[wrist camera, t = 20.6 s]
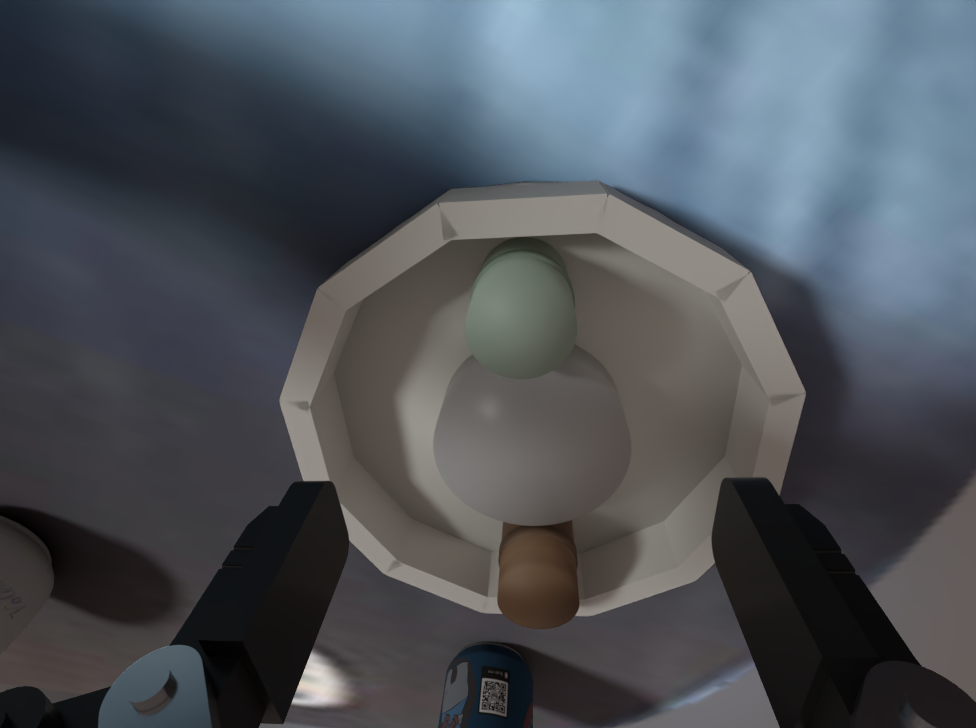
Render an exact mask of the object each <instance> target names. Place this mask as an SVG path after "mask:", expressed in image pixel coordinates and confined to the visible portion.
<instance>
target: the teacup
mask: <svg viewBox="0 0 976 728" xmlns="http://www.w3.org/2000/svg"><path fill="white" fill-rule="evenodd" d="M51 564H52V560H51V555H50V552H49V550H48V548H47V546H46V545H45V544H44V542H43V541H42V540H41V539H40V538H39V537H38V536H37V535H35V534H34V533H33V532H32V531H30V530H29V529H27V528H26V527H24V526H22V525H21V524H19V523H17V522H15V521H13V520H11V519H8V518H6V517H3V516H0V655H1V654H2V652H3V651H4V650H5V649H6V648H7V647H8V646H9V645H10V644H11V643H12V642H13V641H14V640H15V638H16V637H17V636H18V635H19V634H20V633H21V632H22V631H23V630H24V628H25V627H26V626H27V625H28V624H29V623H30V622H31V620H32V619H33V618H34V617H35V616H36V614H37V613H38V612H39V611H40V610H41V608H42V607H43V606H44V604H45V603H46V601H47V600H48V598H49V596H50V594H51V592H52V589H53V586H54V572H53V568H52V565H51Z"/></svg>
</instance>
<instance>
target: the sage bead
mask: <svg viewBox="0 0 976 728" xmlns="http://www.w3.org/2000/svg"><path fill="white" fill-rule="evenodd" d="M465 336H466V340H467V344H468V346H469V348H470V350H471V352H472V354H473V355H474V357H475V358H476V359H477V360H478V361H479V362H480V363H481V364H482V365H483V366H484V367H485V368H487V369H488V370H490V371H491V372H493V373H495V374H498V375H500V376H503V377H506V378H511V379H531V378H536V377H540V376H543V375H545V374H547V373H549V372H551V371H553V370H554V369H556V368H557V367H558V366H560V365H561V364H562V363H563V362H564V361H565V360H566V358H567V357H568V356H569V354H570V353H571V351H572V349H573V347H574V344H575V341H576V337H577V320H576V314H575V296H574V291H573V286H572V283H571V280H570V278H569V276H568V272H567V268H566V265H565V262H564V260H563V258H562V257H561V255H560V254H559V253H558V252H557V251H556V249H554V248H553V247H552V246H551V245H549V244H548V243H546V242H544V241H542V240H539V239H536V238H531V237H517V238H512V239H509V240H506V241H504V242H502V243H500V244H499V245H497V246H496V247H495V248H494V249H493V250H491V251H490V253H489V254H488V255H487V257H486V258H485V260H484V262H483V264H482V267H481V270H480V272H479V274H478V275H477V277H476V279H475V282H474V284H473V288H472V291H471V295H470V305H469V308H468V311H467V315H466V318H465Z"/></svg>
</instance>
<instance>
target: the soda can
mask: <svg viewBox="0 0 976 728" xmlns="http://www.w3.org/2000/svg"><path fill="white" fill-rule="evenodd" d="M438 728H533V679H532V675H531V673H530V671H529V669H528V667H527V665H526V663H525V662H524V660H523V658H522V657H521V655H520V654H519V653H518V652H517V651H516V650H514V649H513V648H511V647H509V646H507V645H504V644H501V643H496V642H477V643H473V644H470V645H468V646H466V647H465V648H463V649H462V650H461V651H460V652H459V654H458V655H457V656H456V657H455V658H454V660H453V661H452V662H451V664H450V665H449V667H448V669H447V673H446V680H445V686H444V693H443V700H442V706H441V713H440V720H439V726H438Z"/></svg>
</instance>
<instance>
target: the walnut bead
mask: <svg viewBox="0 0 976 728" xmlns="http://www.w3.org/2000/svg"><path fill="white" fill-rule="evenodd" d="M498 563H499V567H500V568H499V582H498V596H497V603H498V607H499V609H500V611H501V612H502V613H503V615H504V616H505V617H506V618H508V619H509V620H510V621H512V622H514V623H516V624H518V625H521V626H523V627H527V628H533V629H549V628H554V627H558V626H561V625H563V624H565V623H567V622H568V621H570V620H571V619H572V618H573V617H574V616H575V615H576V613H577V612H578V609H579V604H580V603H579V591H578V580H577V566H578V561H577V550H576V546H575V544H574V536H573V525H572V520H570V521H567V522H563V523H559V524H552V525H545V526H526V525H517V524H510V523H506V522H503V527H502V541H501V543H500V547H499V559H498Z"/></svg>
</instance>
